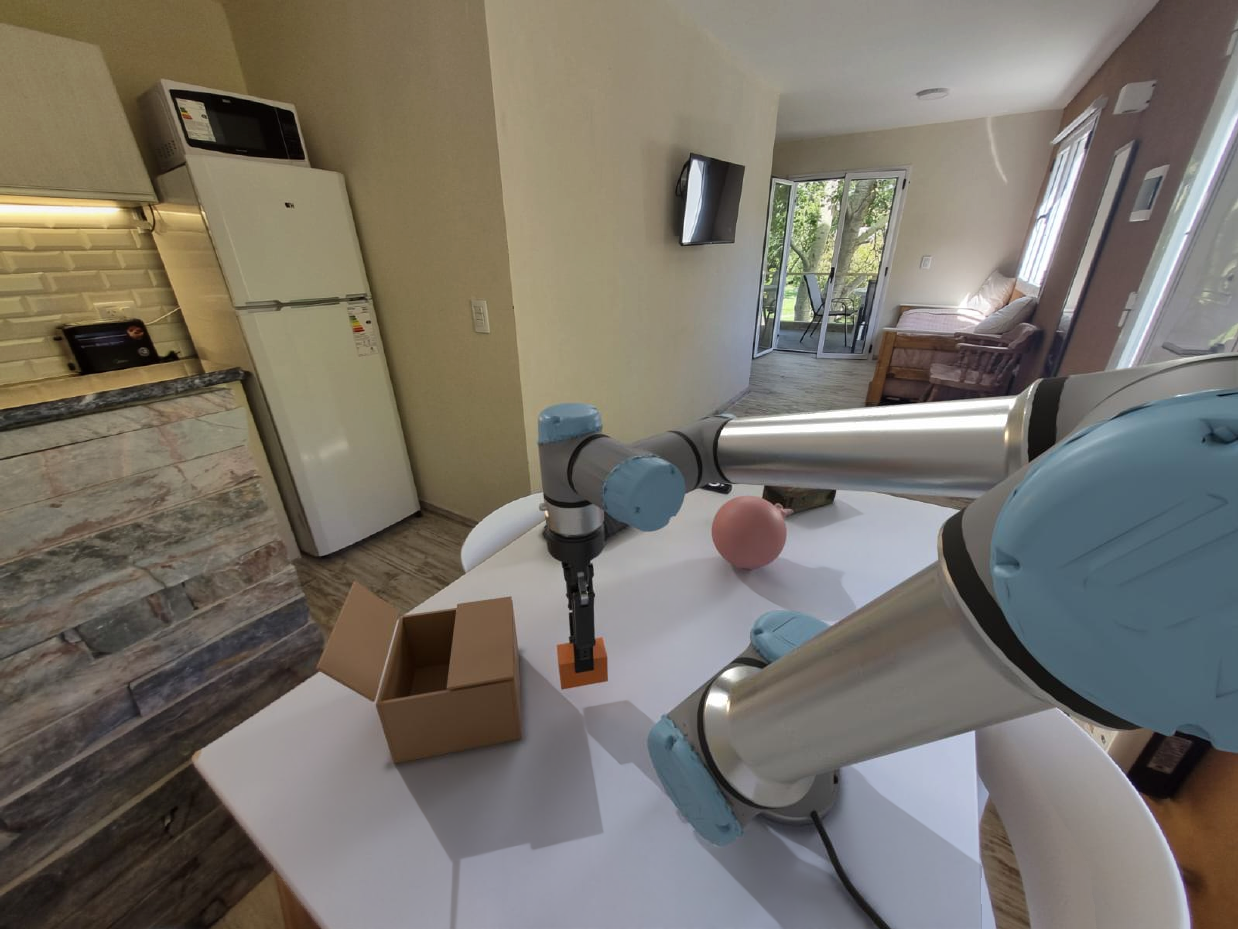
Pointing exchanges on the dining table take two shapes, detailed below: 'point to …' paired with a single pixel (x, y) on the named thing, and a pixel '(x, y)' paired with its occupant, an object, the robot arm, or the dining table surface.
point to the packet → (584, 678)
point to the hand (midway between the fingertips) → (582, 657)
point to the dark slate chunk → (606, 526)
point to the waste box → (452, 681)
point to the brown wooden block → (798, 497)
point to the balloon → (750, 531)
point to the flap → (360, 642)
